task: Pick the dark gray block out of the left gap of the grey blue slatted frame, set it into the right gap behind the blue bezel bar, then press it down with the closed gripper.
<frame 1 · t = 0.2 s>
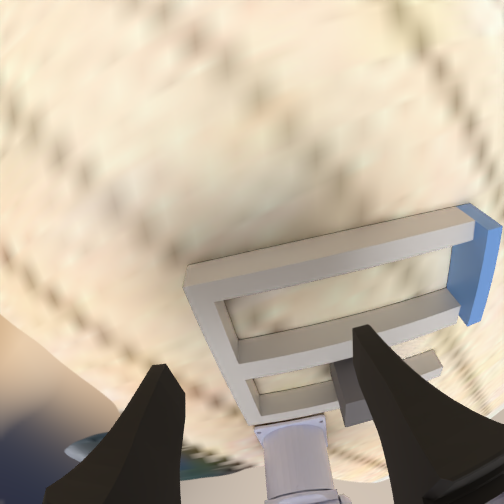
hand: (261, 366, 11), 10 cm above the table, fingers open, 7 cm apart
grey blue slatted frame: (351, 324, 24), on the table
dark gray block: (351, 355, 26), resting in grey blue slatted frame
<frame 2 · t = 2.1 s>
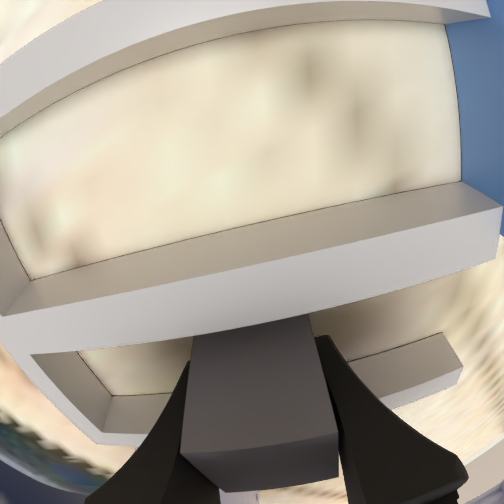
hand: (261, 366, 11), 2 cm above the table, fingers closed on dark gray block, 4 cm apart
grey blue slatted frame: (234, 256, 11), on the table
dark gray block: (259, 337, 13), resting in grey blue slatted frame, touching gripper
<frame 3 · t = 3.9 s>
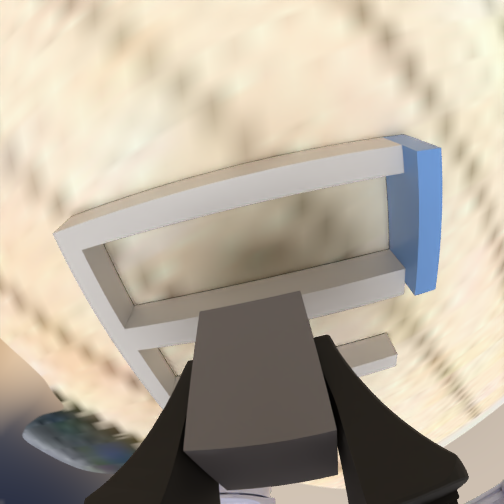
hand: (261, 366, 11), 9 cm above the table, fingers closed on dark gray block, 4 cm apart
grey blue slatted frame: (261, 292, 21), on the table
dark gray block: (260, 337, 13), point 7 cm above the table, touching gripper
when the fingers open (3 cm above the table, at t = 5.5 s): dark gray block drops 1 cm, resting in grey blue slatted frame.
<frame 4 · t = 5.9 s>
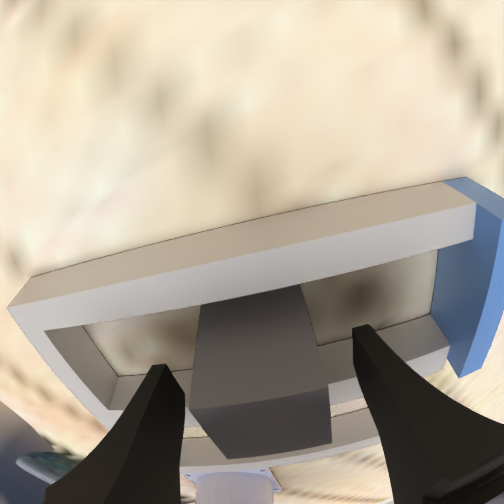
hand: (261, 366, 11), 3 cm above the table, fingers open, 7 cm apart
grey blue slatted frame: (273, 368, 16), on the table
dark gray block: (258, 315, 14), resting in grey blue slatted frame
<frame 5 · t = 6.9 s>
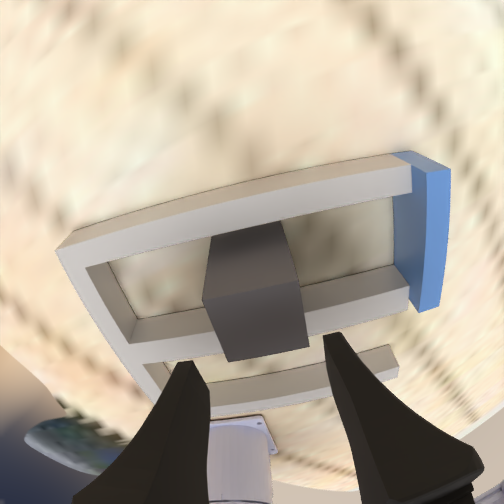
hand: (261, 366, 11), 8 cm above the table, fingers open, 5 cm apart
grey blue slatted frame: (266, 307, 21), on the table
dark gray block: (253, 257, 19), resting in grey blue slatted frame
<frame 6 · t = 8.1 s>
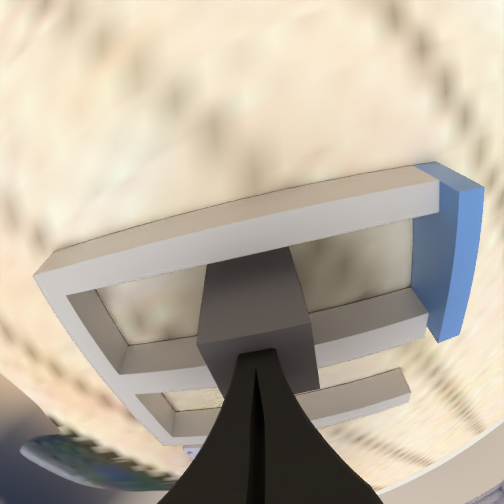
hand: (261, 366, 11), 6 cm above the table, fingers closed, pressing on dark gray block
grey blue slatted frame: (269, 334, 18), on the table
dark gray block: (255, 282, 16), resting in grey blue slatted frame, touching gripper
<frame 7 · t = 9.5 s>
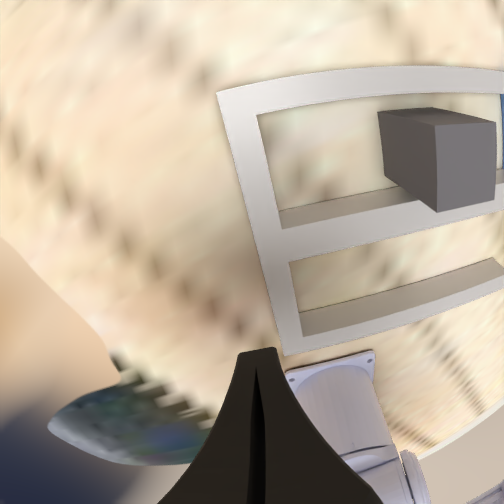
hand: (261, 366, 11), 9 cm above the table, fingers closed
grey blue slatted frame: (412, 198, 18), on the table
dark gray block: (409, 140, 16), resting in grey blue slatted frame
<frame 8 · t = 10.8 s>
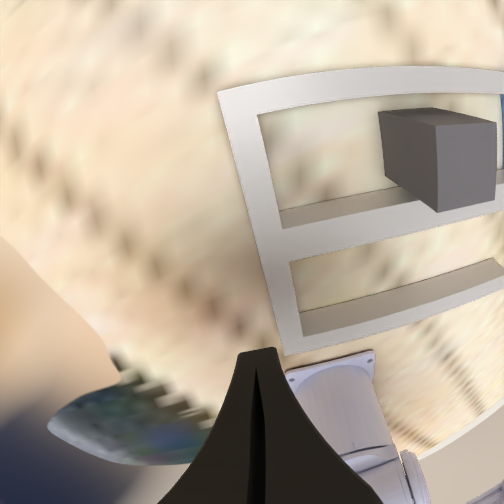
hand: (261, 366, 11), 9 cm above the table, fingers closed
grey blue slatted frame: (412, 198, 18), on the table
dark gray block: (409, 140, 16), resting in grey blue slatted frame
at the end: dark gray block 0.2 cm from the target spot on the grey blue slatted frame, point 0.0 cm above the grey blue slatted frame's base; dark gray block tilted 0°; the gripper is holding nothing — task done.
